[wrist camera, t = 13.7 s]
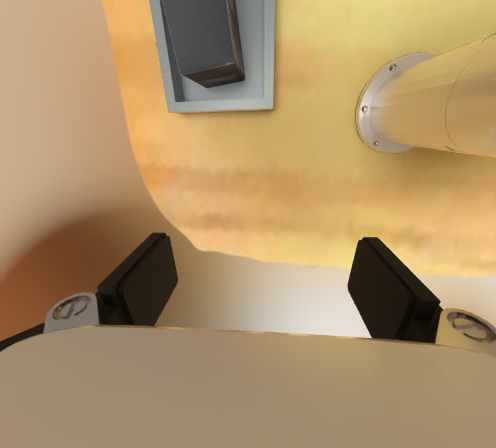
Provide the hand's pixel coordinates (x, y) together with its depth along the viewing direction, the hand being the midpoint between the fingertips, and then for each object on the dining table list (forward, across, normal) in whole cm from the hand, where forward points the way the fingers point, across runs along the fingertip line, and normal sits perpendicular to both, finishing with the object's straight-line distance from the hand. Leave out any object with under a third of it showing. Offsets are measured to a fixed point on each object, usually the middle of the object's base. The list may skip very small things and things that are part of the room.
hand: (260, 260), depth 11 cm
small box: (+28, +7, -16) cm, 33 cm away
